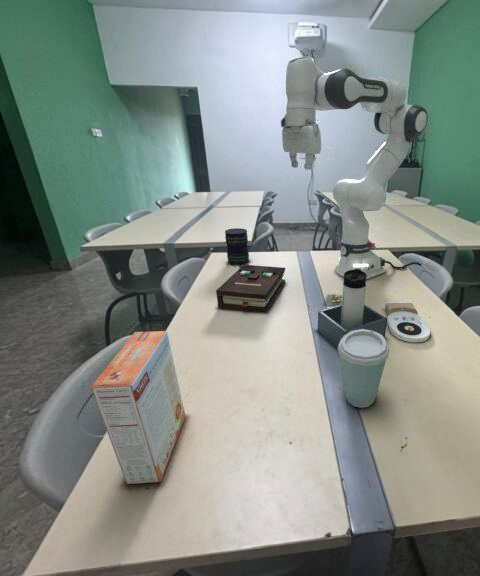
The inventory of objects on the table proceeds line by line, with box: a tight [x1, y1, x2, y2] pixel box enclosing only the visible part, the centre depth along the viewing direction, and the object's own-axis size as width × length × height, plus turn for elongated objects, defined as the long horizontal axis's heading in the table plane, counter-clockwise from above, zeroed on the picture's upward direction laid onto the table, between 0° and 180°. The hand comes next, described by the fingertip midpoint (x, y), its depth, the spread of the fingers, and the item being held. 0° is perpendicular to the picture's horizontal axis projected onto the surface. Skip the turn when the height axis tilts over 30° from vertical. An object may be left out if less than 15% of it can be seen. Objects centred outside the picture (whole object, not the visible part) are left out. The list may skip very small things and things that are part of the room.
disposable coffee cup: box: [336, 329, 390, 409], centre depth 68 cm, size 11×11×15 cm
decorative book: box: [215, 264, 286, 314], centre depth 116 cm, size 19×8×30 cm
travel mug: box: [341, 269, 367, 330], centre depth 90 cm, size 6×7×20 cm
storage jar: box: [224, 227, 250, 267], centre depth 146 cm, size 10×10×15 cm
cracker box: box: [90, 330, 187, 485], centre depth 53 cm, size 14×6×21 cm, turn 5°
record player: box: [384, 301, 431, 343], centre depth 100 cm, size 12×3×20 cm
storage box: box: [317, 304, 388, 350], centre depth 92 cm, size 15×14×7 cm
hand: (301, 168), depth 103 cm, fingers open, 8 cm apart
